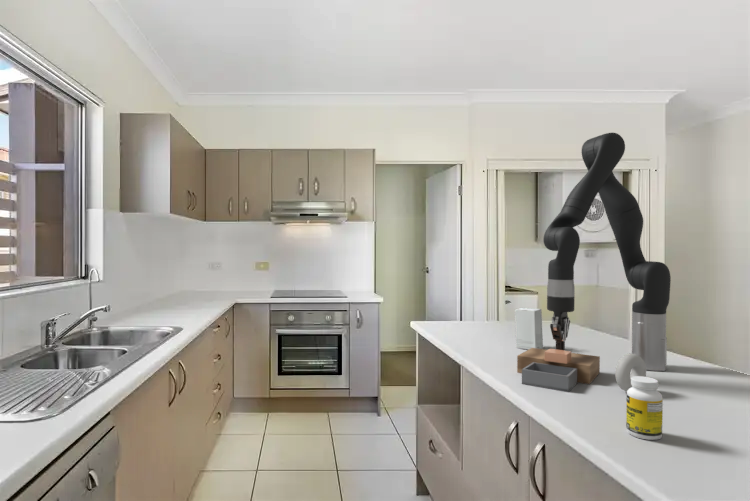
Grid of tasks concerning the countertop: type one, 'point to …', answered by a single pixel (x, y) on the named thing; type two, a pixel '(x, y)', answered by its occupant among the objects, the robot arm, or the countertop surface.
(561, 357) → the tile
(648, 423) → the pill bottle
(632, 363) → the donut
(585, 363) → the chopping block
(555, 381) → the bin
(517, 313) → the skincare box
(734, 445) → the countertop surface
